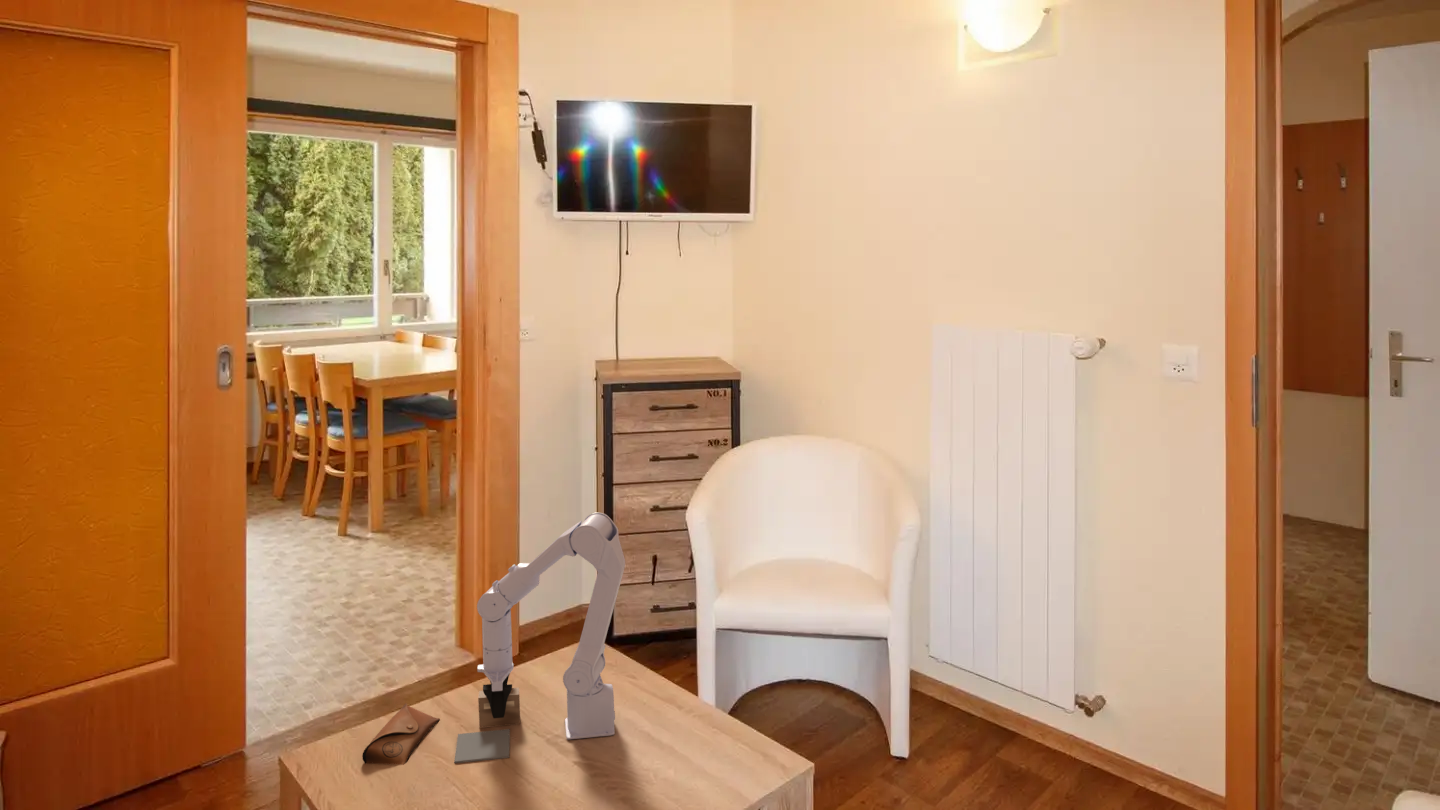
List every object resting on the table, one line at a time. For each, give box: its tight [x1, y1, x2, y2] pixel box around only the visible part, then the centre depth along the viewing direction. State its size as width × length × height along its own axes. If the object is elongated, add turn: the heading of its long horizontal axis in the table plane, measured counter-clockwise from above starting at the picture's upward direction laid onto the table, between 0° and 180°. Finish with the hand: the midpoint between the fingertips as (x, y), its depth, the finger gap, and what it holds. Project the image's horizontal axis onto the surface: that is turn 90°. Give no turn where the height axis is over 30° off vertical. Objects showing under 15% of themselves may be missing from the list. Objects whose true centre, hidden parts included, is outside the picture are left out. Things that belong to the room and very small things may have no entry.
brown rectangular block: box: [477, 687, 521, 729], centre depth 186 cm, size 8×3×6 cm, turn 102°
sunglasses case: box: [361, 703, 440, 765], centre depth 180 cm, size 18×7×7 cm
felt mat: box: [453, 728, 511, 764], centre depth 177 cm, size 10×10×1 cm
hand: (499, 707), depth 186 cm, fingers open, 7 cm apart
